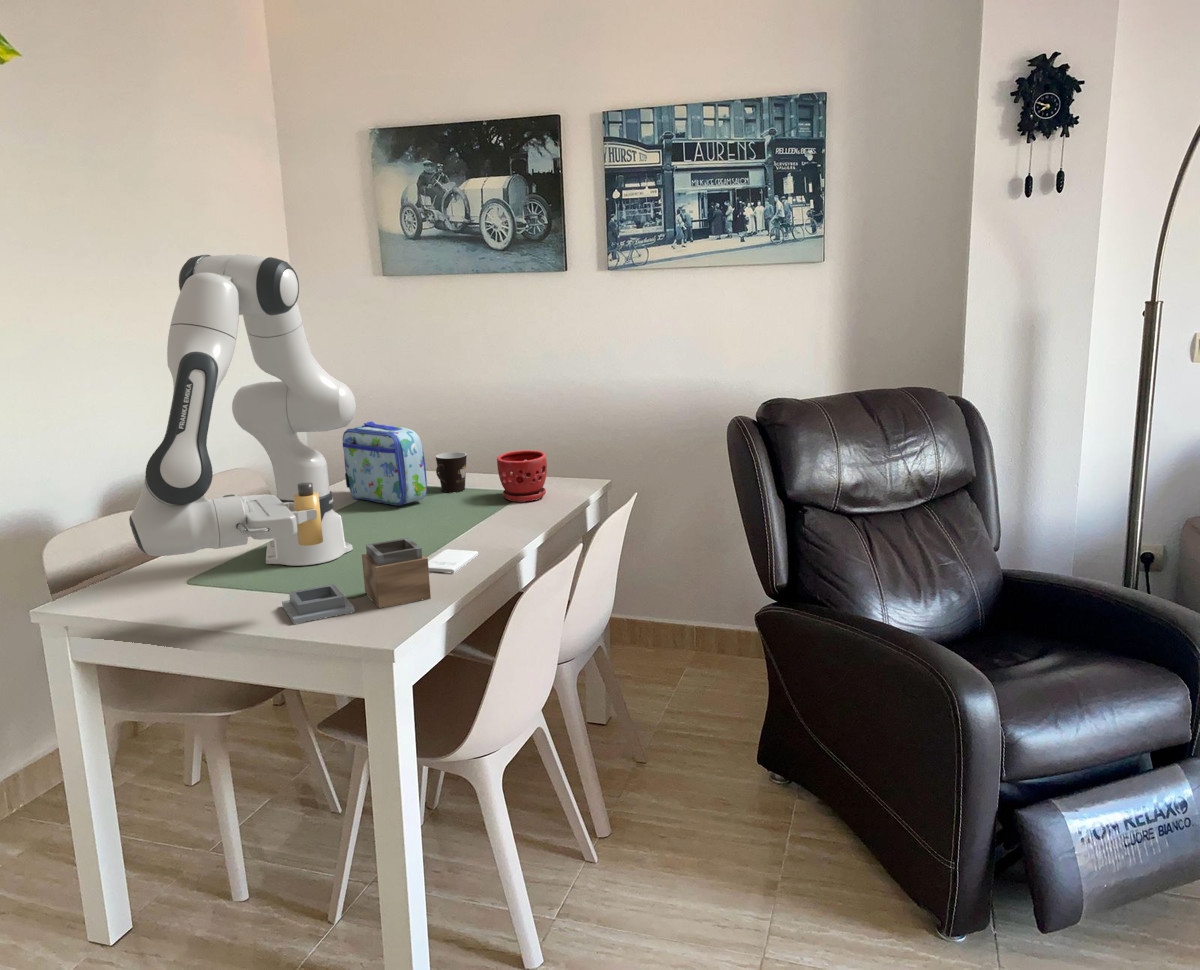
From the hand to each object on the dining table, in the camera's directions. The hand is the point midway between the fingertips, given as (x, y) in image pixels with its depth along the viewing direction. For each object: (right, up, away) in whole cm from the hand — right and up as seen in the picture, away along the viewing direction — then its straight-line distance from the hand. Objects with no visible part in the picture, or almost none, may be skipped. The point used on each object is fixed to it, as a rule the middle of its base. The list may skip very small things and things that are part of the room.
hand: (312, 510), depth 177 cm
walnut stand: (+14, -17, +10) cm, 24 cm away
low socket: (0, -19, +4) cm, 19 cm away
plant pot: (+32, +1, +83) cm, 89 cm away
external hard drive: (+21, -13, +29) cm, 38 cm away
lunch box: (-5, 0, +85) cm, 86 cm away
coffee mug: (+10, +3, +94) cm, 94 cm away
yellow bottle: (-1, -6, +1) cm, 6 cm away
